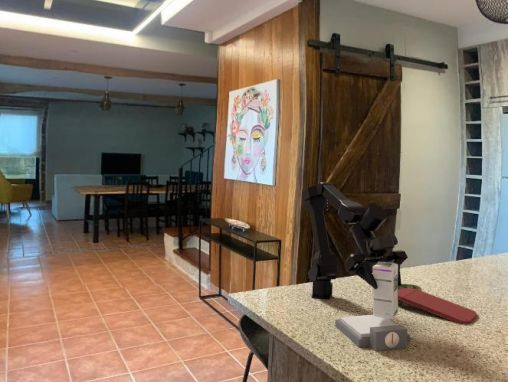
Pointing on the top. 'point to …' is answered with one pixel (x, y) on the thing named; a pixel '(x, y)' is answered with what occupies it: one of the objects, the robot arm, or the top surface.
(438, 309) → the red wedge doorstop
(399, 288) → the cookie cutter
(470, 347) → the top surface
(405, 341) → the kitchen scale
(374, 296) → the syrup box
